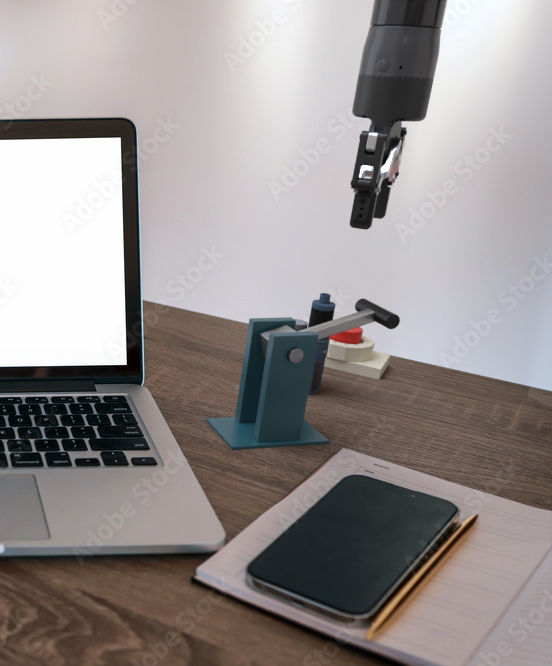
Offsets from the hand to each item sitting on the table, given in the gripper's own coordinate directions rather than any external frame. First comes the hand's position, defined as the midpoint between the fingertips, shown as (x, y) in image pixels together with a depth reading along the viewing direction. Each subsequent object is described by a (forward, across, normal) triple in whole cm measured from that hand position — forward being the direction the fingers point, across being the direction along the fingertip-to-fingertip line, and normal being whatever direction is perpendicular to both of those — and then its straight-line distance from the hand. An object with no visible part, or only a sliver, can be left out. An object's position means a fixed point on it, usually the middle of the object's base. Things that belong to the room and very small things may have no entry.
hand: (367, 222), depth 88 cm
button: (+14, 0, 0) cm, 14 cm away
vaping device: (+18, -11, +2) cm, 21 cm away
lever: (+8, -21, -2) cm, 23 cm away
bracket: (+18, -24, +2) cm, 31 cm away
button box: (+18, 0, 0) cm, 18 cm away
